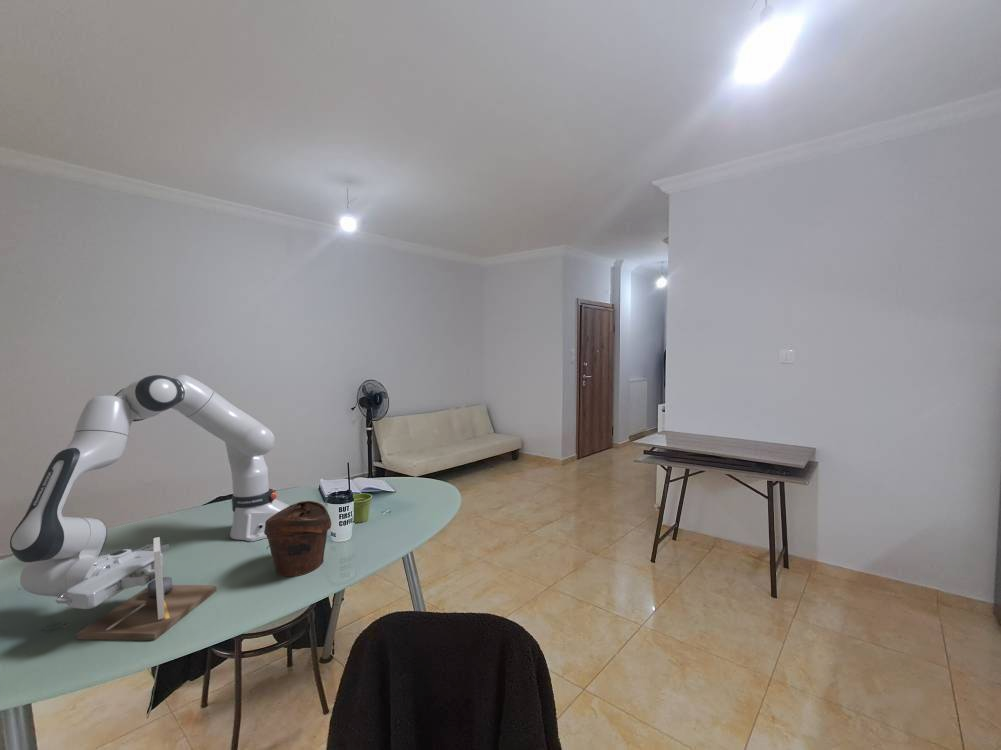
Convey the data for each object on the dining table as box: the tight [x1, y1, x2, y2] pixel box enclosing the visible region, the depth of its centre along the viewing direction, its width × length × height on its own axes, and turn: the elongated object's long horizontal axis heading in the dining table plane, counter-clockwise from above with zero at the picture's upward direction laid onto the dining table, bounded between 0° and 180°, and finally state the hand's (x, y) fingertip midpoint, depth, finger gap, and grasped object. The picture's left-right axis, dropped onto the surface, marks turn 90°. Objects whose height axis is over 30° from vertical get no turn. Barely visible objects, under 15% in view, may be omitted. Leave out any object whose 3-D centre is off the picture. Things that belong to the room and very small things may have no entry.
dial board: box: [76, 584, 217, 641], centre depth 109 cm, size 20×18×2 cm
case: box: [264, 500, 332, 577], centre depth 132 cm, size 18×20×18 cm
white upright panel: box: [147, 536, 173, 620], centre depth 110 cm, size 18×5×16 cm, turn 38°
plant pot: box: [352, 492, 373, 524], centre depth 166 cm, size 9×9×9 cm
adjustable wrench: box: [132, 541, 170, 552], centre depth 139 cm, size 25×6×2 cm, turn 129°
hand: (150, 578), depth 107 cm, fingers closed
